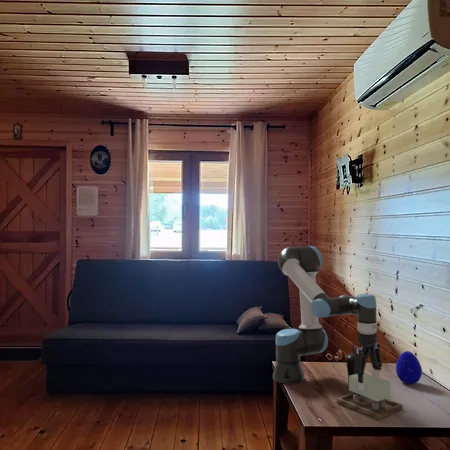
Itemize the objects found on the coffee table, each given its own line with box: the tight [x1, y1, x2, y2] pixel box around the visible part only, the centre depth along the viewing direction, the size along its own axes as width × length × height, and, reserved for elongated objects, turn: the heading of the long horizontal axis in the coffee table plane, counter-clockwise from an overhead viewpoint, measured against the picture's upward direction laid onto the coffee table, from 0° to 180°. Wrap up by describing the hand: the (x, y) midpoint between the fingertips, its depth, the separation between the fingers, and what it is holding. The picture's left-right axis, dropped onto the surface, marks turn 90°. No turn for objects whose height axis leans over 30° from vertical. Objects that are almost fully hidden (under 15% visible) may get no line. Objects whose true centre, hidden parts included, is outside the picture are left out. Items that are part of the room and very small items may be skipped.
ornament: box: [395, 350, 423, 385], centre depth 192 cm, size 11×9×15 cm
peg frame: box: [336, 391, 404, 422], centre depth 168 cm, size 20×16×4 cm
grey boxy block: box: [348, 372, 391, 402], centre depth 168 cm, size 14×8×6 cm, turn 32°
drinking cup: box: [345, 342, 356, 382], centre depth 189 cm, size 8×8×20 cm
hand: (368, 387), depth 168 cm, fingers closed on grey boxy block, 8 cm apart
